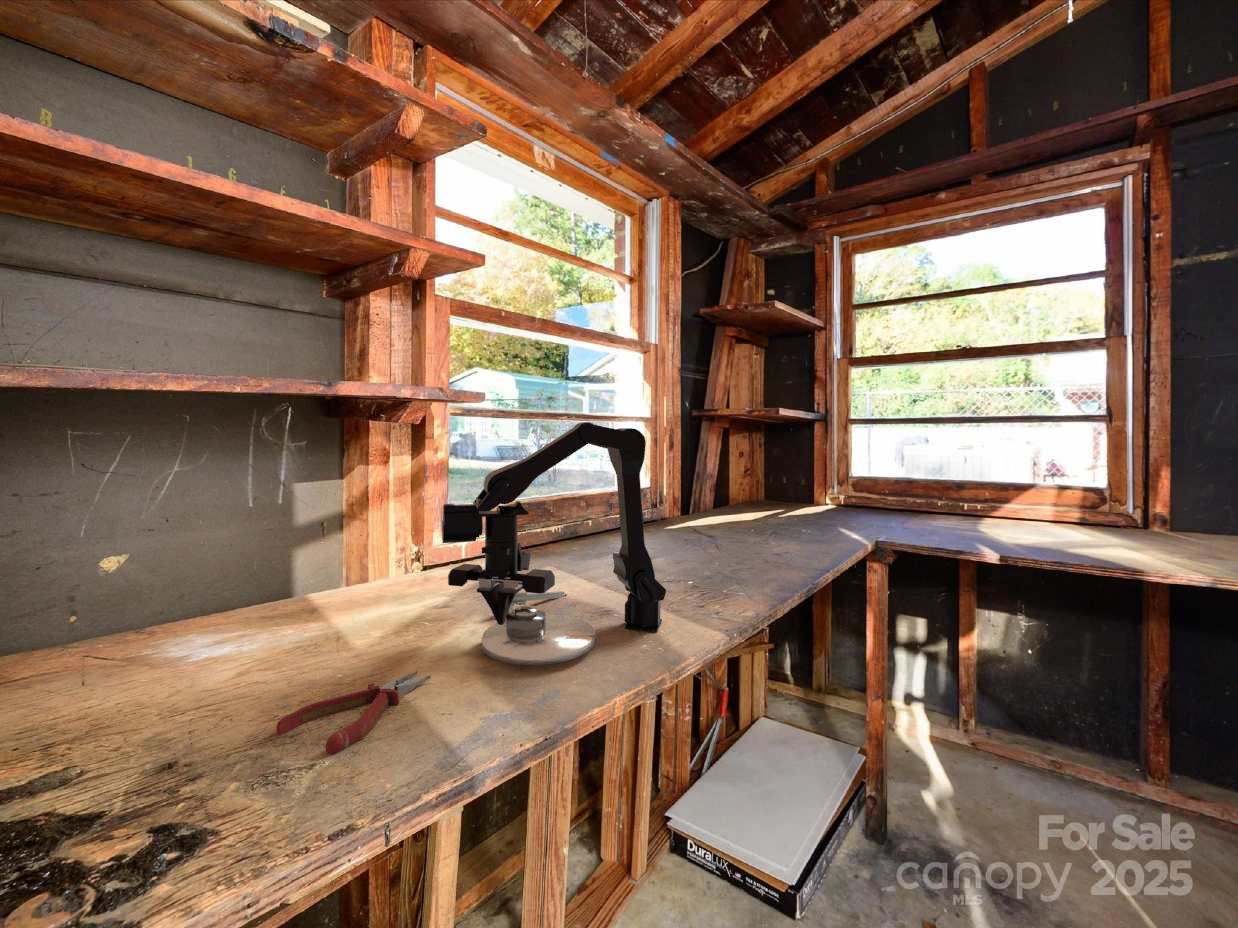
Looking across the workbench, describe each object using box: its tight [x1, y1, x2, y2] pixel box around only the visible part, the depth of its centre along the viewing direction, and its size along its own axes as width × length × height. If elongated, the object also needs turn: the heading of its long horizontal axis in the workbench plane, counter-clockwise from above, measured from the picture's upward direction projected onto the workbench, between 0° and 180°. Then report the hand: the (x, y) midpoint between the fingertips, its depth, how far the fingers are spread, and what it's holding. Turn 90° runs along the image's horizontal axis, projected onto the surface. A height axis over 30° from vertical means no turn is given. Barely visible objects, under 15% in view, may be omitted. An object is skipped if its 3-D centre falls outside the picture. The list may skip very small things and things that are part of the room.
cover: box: [506, 605, 547, 639], centre depth 97 cm, size 7×7×4 cm
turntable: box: [481, 614, 596, 666], centre depth 97 cm, size 20×20×1 cm
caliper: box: [508, 590, 568, 614], centre depth 121 cm, size 20×1×6 cm, turn 143°
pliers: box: [276, 670, 432, 755], centre depth 76 cm, size 12×20×3 cm, turn 155°
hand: (501, 624), depth 99 cm, fingers closed
